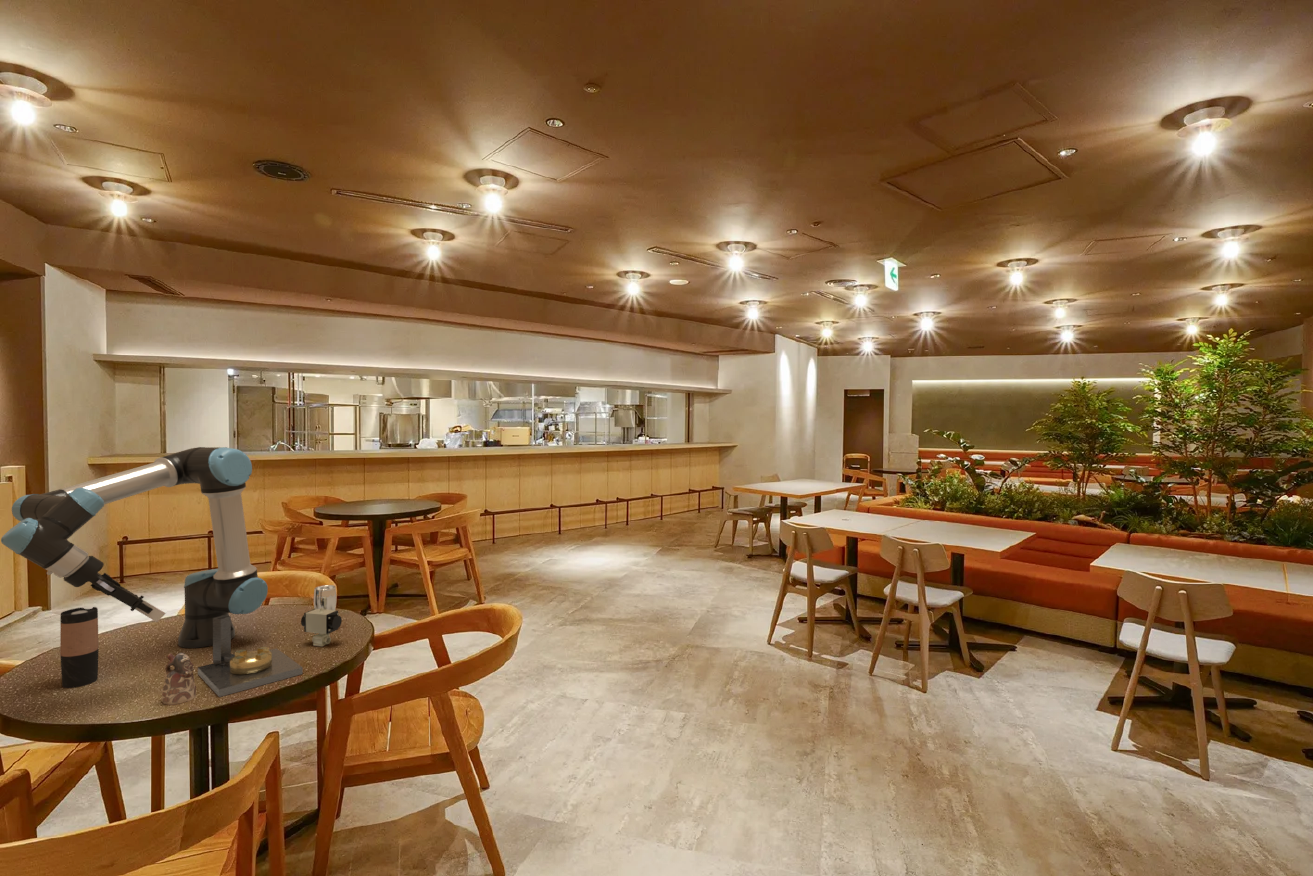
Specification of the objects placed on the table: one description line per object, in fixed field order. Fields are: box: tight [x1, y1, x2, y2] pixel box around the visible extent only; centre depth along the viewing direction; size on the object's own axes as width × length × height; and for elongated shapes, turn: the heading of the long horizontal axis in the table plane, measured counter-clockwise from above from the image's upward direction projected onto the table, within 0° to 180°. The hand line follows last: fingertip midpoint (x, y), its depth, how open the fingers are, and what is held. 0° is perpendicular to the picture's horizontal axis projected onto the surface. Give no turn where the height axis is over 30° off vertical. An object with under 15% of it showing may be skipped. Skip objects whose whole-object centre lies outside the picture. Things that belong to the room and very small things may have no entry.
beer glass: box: [313, 584, 337, 610], centre depth 212 cm, size 7×7×15 cm
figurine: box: [161, 652, 197, 706], centre depth 158 cm, size 7×7×12 cm
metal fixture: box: [212, 615, 272, 674], centre depth 174 cm, size 18×10×13 cm, turn 74°
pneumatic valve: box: [300, 608, 343, 647], centre depth 198 cm, size 6×12×12 cm, turn 78°
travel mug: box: [59, 606, 100, 689], centre depth 168 cm, size 8×8×20 cm
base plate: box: [197, 648, 304, 698], centre depth 174 cm, size 22×20×2 cm
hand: (160, 617), depth 166 cm, fingers closed
